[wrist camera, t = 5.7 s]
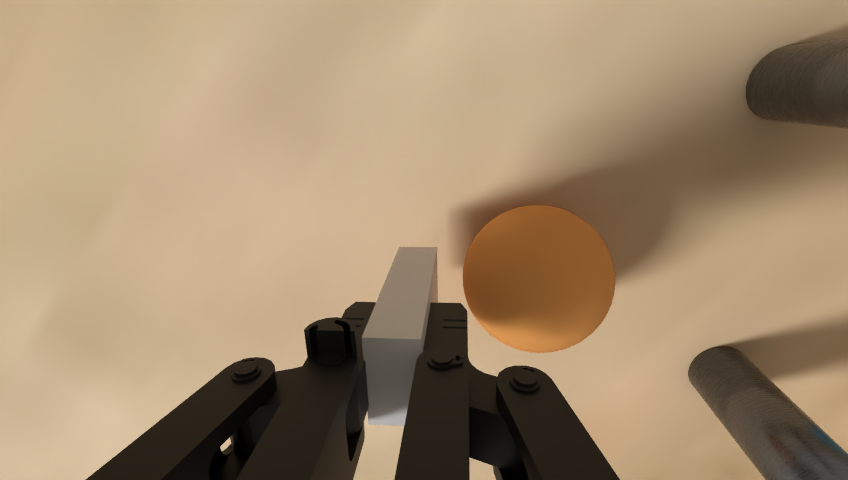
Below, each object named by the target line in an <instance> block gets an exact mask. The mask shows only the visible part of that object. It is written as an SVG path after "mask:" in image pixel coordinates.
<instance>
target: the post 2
mask: <svg viewBox="0 0 848 480" xmlns="http://www.w3.org/2000/svg"><path fill="white" fill-rule="evenodd" d="M688 376H689V380H690V382H691V384H692V385H693V386H694V388H695V389H696V390H697V391H698V393H699V394H700V395H701V397H702V398H703V399H704V401H705V402H706V403H707V404H708V406H709V407H710V408H711V410H712V411H713V412H714V414H715V415H716V416H717V417H718V419H719V420H720V421H721V423H722V424H723V425H724V426H725V428H726V429H727V430H728V432H729V433H730V434H731V436H732V437H733V438H734V439H735V441H736V442H737V443H738V445H739V446H740V447H741V449H742V450H743V451H744V452H745V454H746V455H747V456H748V458H749V459H750V460H751V462H752V463H753V464H754V465H755V467H756V468H757V469H758V471H759V472H760V473H761V474H762V476H763V477H764V478H765V480H848V454H847V453H846V452H845V451H844V450H843V449H842V448H841V447H840V446H839V445H838V444H837V443H836V442H835V441H834V440H833V439H832V438H830V437H829V436H828V435H827V434H826V433H825V432H824V431H823V430H822V429H821V428H820V427H819V426H818V425H817V424H816V423H815V422H814V421H813V420H812V419H811V418H809V417H808V416H807V415H806V414H805V413H804V412H803V411H802V410H801V409H800V408H799V407H798V406H797V405H796V404H795V403H794V402H793V401H792V400H791V399H790V398H789V397H787V396H786V395H785V394H784V393H783V392H782V391H781V390H780V389H779V388H778V387H777V386H776V385H775V384H774V383H773V382H772V381H771V380H770V379H769V378H768V377H766V376H765V375H764V374H763V373H762V372H761V371H760V370H759V369H758V368H757V367H756V366H755V365H754V364H753V363H752V362H751V361H750V360H749V359H748V358H747V357H746V356H744V355H743V354H742V353H741V352H740V351H738V350H736V349H734V348H730V347H715V348H711V349H709V350H706V351H704V352H702V353H701V354H699V355H698V356H697V357H696V358H695V359H694V360H693V361H692V363H691V365H690V367H689V371H688Z"/></svg>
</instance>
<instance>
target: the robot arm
mask: <svg viewBox="0 0 848 480" xmlns="http://www.w3.org/2000/svg"><path fill="white" fill-rule="evenodd" d="M304 332H305V340H306V348H307V355H308V358H307V359H306V361H305V363H304V365H303V366H302V367H298V368H294V369H288V370H282V371H277V372H275V366H274V364H273V363H272V361H270V360H268V359H266V358H257V357H254V358H247V359H243V360H241V361H238V362H235V363H233V364H232V365H230V366H228V367H227V368H225V369H224V370H223V371H221V372H220V373H219V374H218V375H216V376H215V377H214V378H213V379H211V380H210V381H209V382H208V383H206V384H205V385H204V386H203V387H201V388H200V389H199V390H198V391H196V392H195V393H194V394H193V395H191V396H190V397H189V398H188V399H186V400H185V401H184V402H183V403H181V404H180V405H179V406H177V407H176V408H175V409H174V410H172V411H171V412H170V413H169V414H167V415H166V416H165V417H164V418H162V419H161V420H160V421H159V422H157V423H156V424H155V425H154V426H152V427H151V428H150V429H149V430H147V431H146V432H145V433H144V434H142V435H141V436H140V437H139V438H137V439H136V440H135V441H134V442H132V443H131V444H130V445H129V446H127V447H126V448H125V449H124V450H122V451H121V452H120V453H119V454H117V455H116V456H115V457H114V458H112V459H111V460H110V461H109V462H107V463H106V464H105V465H104V466H102V467H101V468H100V469H99V470H97V471H96V472H95V473H94V474H92V475H91V476H90V477H88V478H87V479H86V480H353V477H354V474H355V470H356V467H357V463H358V460H359V456H360V453H361V449H362V446H363V442H364V433H365V432H364V419H365V416H366V413H367V410H368V422H369V424H374V425H394V426H404V431H403V437H402V442H401V447H400V453H399V458H398V464H397V469H396V475H395V480H469V457H470V458H473V459H476V460H479V461H482V462H484V463H487V464H490V465H493V469H494V474H495V477H496V480H620V479H619V478H618V476H617V475H616V473H615V472H614V470H613V469H612V467H611V466H610V464H609V463H608V461H607V460H606V459H605V457H604V456H603V454H602V453H601V451H600V450H599V448H598V447H597V445H596V444H595V442H594V441H593V439H592V438H591V436H590V435H589V433H588V432H587V431H586V429H585V428H584V426H583V425H582V423H581V422H580V420H579V419H578V417H577V416H576V414H575V413H574V411H573V410H572V408H571V407H570V405H569V404H568V403H567V401H566V400H565V398H564V397H563V395H562V394H561V392H560V391H559V389H558V388H557V386H556V385H555V383H554V382H553V380H552V379H551V378H550V377H549V376H548V375H547V374H546V373H544V372H542V371H540V370H538V369H537V368H533V367H529V366H512V367H508V368H505V369H504V370H502V371H501V372H499V374H498V376H497V377H496V376H492V375H489V374H486V373H483V372H481V371H479V370H478V369H476V368H475V367H474V366H473V365H472V364H471V363H470V361H469V359H468V335H467V310H466V309H465V308H464V307H463V305H462V304H461V303H438V290H437V247H399V249H398V251H397V254H396V256H395V259H394V261H393V263H392V266H391V268H390V271H389V273H388V275H387V278H386V280H385V283H384V285H383V287H382V290H381V292H380V295H379V297H378V299H377V302H355V303H354V304H353V305H351V306H350V307H348V308H347V309H346V310H345V312H344V314H343V316H342V318H338V317H335V318H325V319H322V320H318V321H316V322H314V323H312V324H310V325H309V326H308V327H306V328H305V329H304ZM229 437H230V439H231V444H230V445H229V447H228V448H227V449H225V450H224V451H221V449H220V446H221V445H222V444H223V443H224V442H225V441H226V440H227V439H228V438H229Z"/></svg>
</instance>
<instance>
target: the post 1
mask: <svg viewBox="0 0 848 480" xmlns="http://www.w3.org/2000/svg"><path fill="white" fill-rule="evenodd" d="M746 99H747V102H748V105H749V107H750V108H751V110H752V111H753V112H754V113H755V114H756V115H758V116H759V117H761V118H764V119H767V120H773V121H783V122H792V123H801V124H810V125H819V126H828V127H838V128H847V129H848V38H844V39H836V40H828V41H820V42H812V43H804V44H796V45H788V46H784V47H781V48H778V49H776V50H774V51H772V52H771V53H769V54H768V55H766V56H765V57H764V58H763V59H762V60H761V61H760V62H759V63H758V64H757V65H756V66H755V68H754V69H753V71H752V73H751V74H750V77H749V79H748V82H747V86H746Z"/></svg>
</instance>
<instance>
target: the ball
mask: <svg viewBox="0 0 848 480" xmlns="http://www.w3.org/2000/svg"><path fill="white" fill-rule="evenodd" d="M463 287H464V293H465V297H466V300H467V303H468V305H469V308H470V310H471V312H472V313H473V315H474V317H475V318H476V320H477V321H478V322H479V324H480V325H481V326H482V327H483V328H484V329H485V330H486V331H487V332H488V333H489V334H490V335H491V336H493V337H494V338H496V339H497V340H499V341H500V342H502V343H504V344H506V345H508V346H510V347H513V348H515V349H518V350H522V351H527V352H535V353H546V352H554V351H559V350H563V349H566V348H569V347H571V346H573V345H575V344H577V343H579V342H581V341H582V340H584V339H585V338H586V337H588V336H589V335H591V334H592V333H593V332H594V331H595V329H596V328H597V327H598V326H599V325H600V324H601V323H602V321H603V320H604V318H605V316H606V315H607V313H608V311H609V308H610V306H611V303H612V300H613V296H614V290H615V271H614V265H613V261H612V258H611V255H610V253H609V250H608V248H607V246H606V244H605V243H604V241H603V240H602V238H601V237H600V235H599V234H598V233H597V232H596V231H595V229H594V228H593V227H592V226H590V225H589V224H588V223H587V222H586V221H584V220H583V219H581V218H580V217H578V216H577V215H575V214H573V213H571V212H569V211H566V210H563V209H560V208H557V207H553V206H546V205H530V206H522V207H518V208H514V209H511V210H508V211H506V212H504V213H502V214H500V215H498V216H497V217H495V218H494V219H492V220H491V221H490V222H489V223H487V224H486V225H485V226H484V227H483V228H482V229H481V230H480V231H479V233H478V234H477V235H476V237H475V238H474V240H473V241H472V243H471V245H470V247H469V249H468V252H467V255H466V258H465V262H464V267H463Z"/></svg>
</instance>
